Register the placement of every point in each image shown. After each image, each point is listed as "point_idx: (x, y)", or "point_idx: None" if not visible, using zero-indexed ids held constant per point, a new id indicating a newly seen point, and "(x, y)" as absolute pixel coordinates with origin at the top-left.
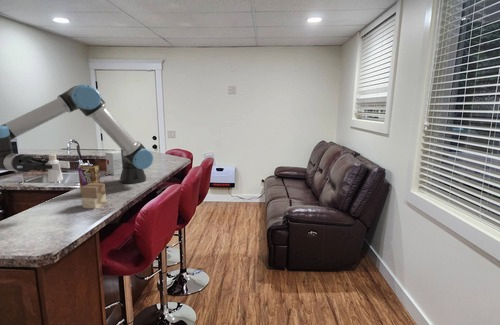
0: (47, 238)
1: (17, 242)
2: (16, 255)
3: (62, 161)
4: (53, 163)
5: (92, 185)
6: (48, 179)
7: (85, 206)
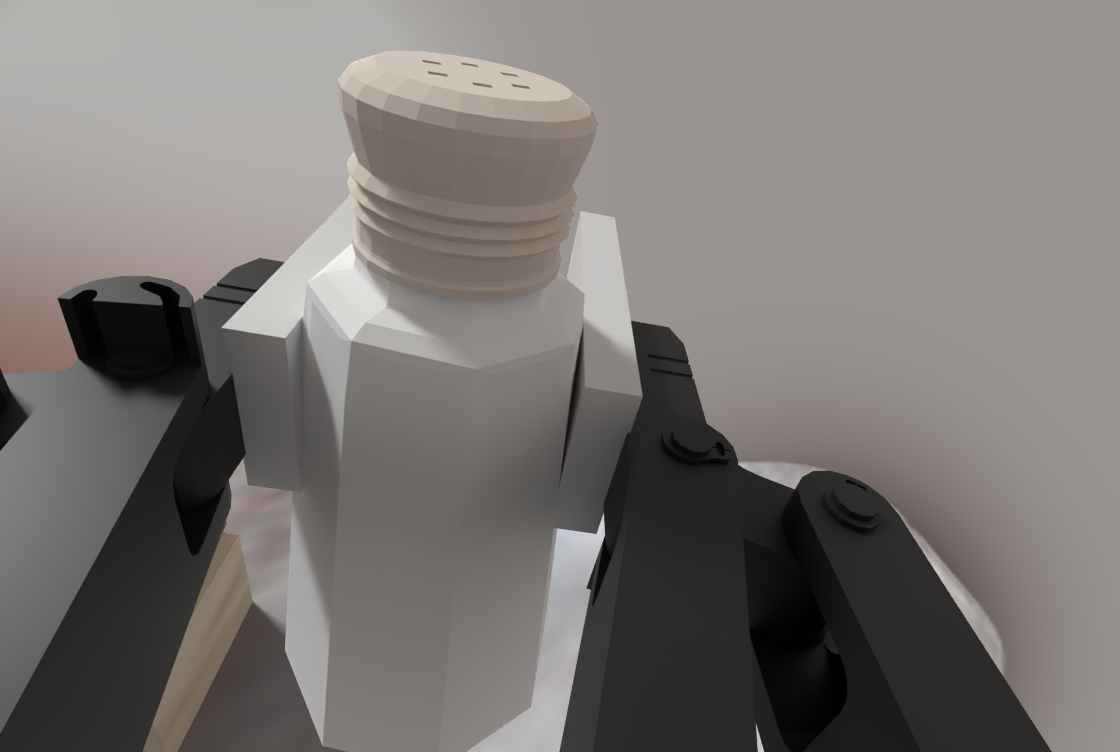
0: None
1: None
2: (957, 581)
3: None
4: (603, 270)
5: None
6: (535, 673)
7: (190, 710)
